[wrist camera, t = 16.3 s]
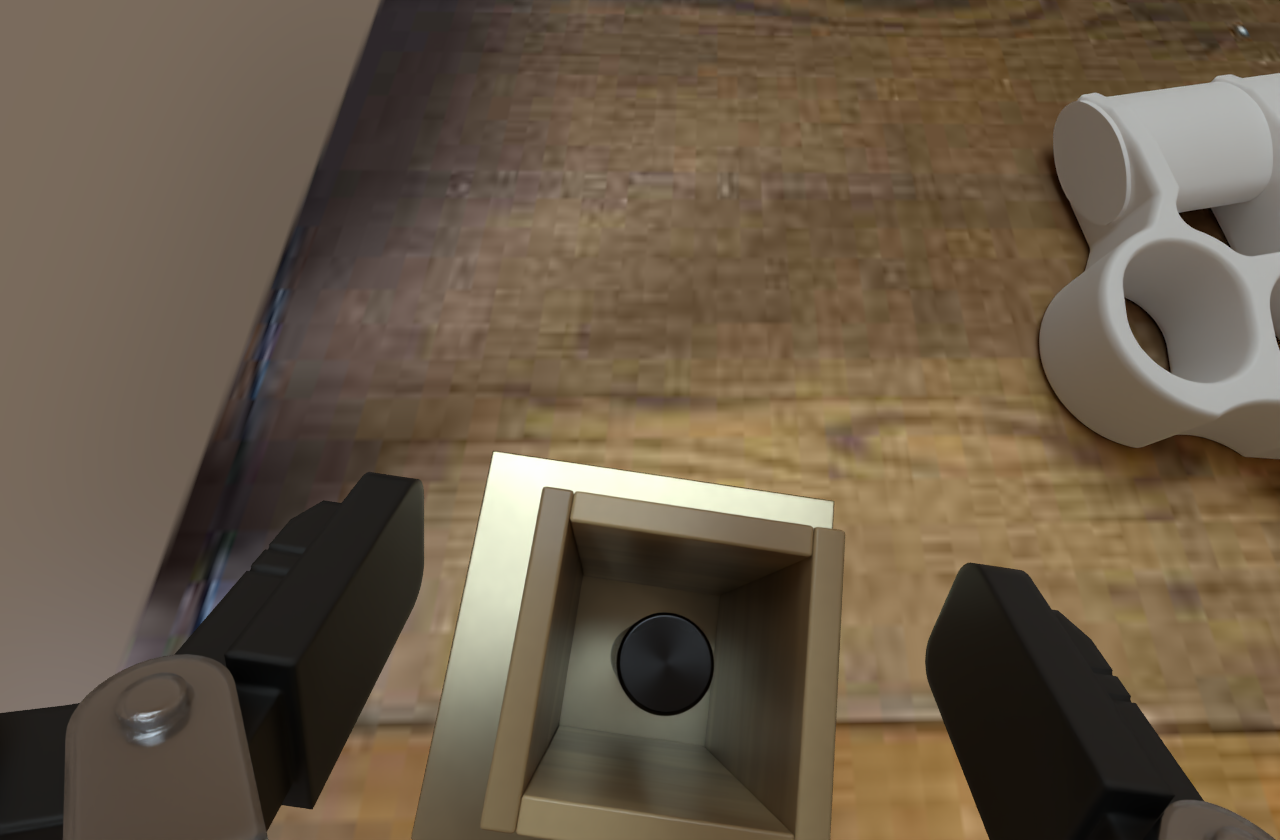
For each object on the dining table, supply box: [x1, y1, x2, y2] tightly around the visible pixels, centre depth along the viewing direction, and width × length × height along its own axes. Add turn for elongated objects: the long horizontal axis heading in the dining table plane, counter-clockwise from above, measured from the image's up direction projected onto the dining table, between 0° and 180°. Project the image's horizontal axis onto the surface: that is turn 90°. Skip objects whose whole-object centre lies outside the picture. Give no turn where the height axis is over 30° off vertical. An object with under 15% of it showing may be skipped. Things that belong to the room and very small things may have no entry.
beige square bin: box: [411, 451, 834, 840], centre depth 16 cm, size 10×10×9 cm
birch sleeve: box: [480, 486, 845, 840], centre depth 15 cm, size 5×5×9 cm
